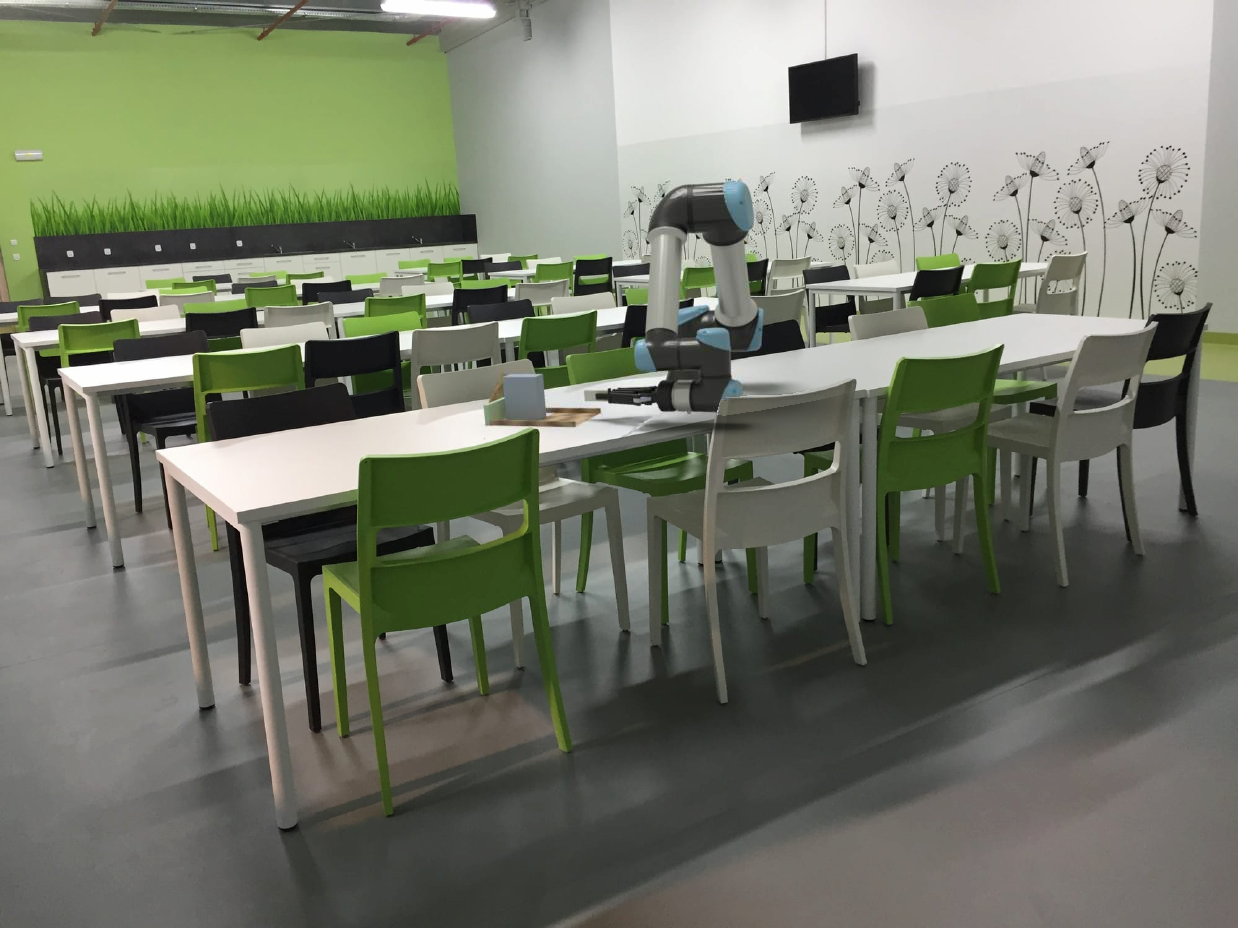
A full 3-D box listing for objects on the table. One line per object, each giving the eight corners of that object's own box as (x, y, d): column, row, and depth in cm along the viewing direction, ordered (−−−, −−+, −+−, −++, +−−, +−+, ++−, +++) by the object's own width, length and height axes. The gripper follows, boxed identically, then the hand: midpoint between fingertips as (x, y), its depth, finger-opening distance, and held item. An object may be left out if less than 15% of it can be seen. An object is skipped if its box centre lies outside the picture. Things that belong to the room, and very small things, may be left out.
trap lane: (601, 416, 253) (600, 408, 253) (574, 430, 238) (574, 421, 238) (520, 415, 262) (519, 407, 261) (490, 429, 247) (489, 420, 246)
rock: (530, 403, 265) (525, 392, 274) (508, 380, 261) (504, 370, 270) (499, 430, 266) (495, 418, 275) (478, 407, 262) (474, 396, 271)
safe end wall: (520, 415, 262) (518, 392, 260) (490, 429, 247) (487, 405, 245) (516, 415, 262) (514, 392, 261) (485, 429, 247) (483, 405, 246)
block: (546, 417, 252) (542, 374, 249) (538, 420, 248) (535, 377, 245) (514, 416, 255) (510, 374, 252) (506, 420, 251) (502, 377, 248)
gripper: (668, 417, 230) (575, 415, 239) (686, 406, 242) (597, 405, 251) (666, 385, 228) (573, 384, 237) (684, 375, 240) (595, 375, 249)
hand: (585, 395), depth 244 cm, fingers closed
